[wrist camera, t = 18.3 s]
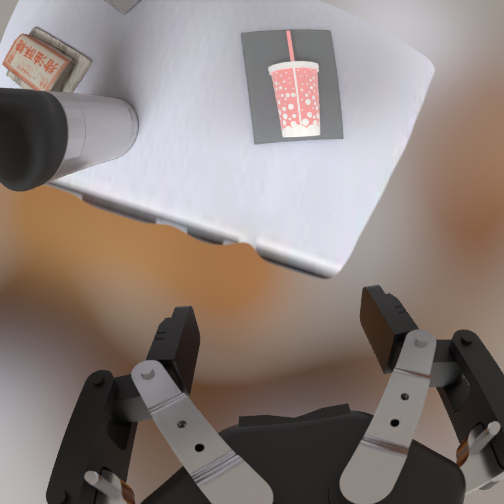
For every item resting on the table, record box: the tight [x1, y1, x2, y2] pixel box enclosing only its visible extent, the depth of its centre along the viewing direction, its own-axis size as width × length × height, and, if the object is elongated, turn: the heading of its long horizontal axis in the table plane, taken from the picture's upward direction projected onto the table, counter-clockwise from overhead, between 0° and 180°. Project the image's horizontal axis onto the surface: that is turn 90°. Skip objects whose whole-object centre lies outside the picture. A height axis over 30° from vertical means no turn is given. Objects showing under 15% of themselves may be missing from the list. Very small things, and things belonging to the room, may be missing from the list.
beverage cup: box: [268, 31, 320, 137], centre depth 30 cm, size 6×6×14 cm
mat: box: [241, 30, 343, 144], centre depth 32 cm, size 12×16×1 cm
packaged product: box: [2, 27, 92, 93], centre depth 27 cm, size 18×5×10 cm
